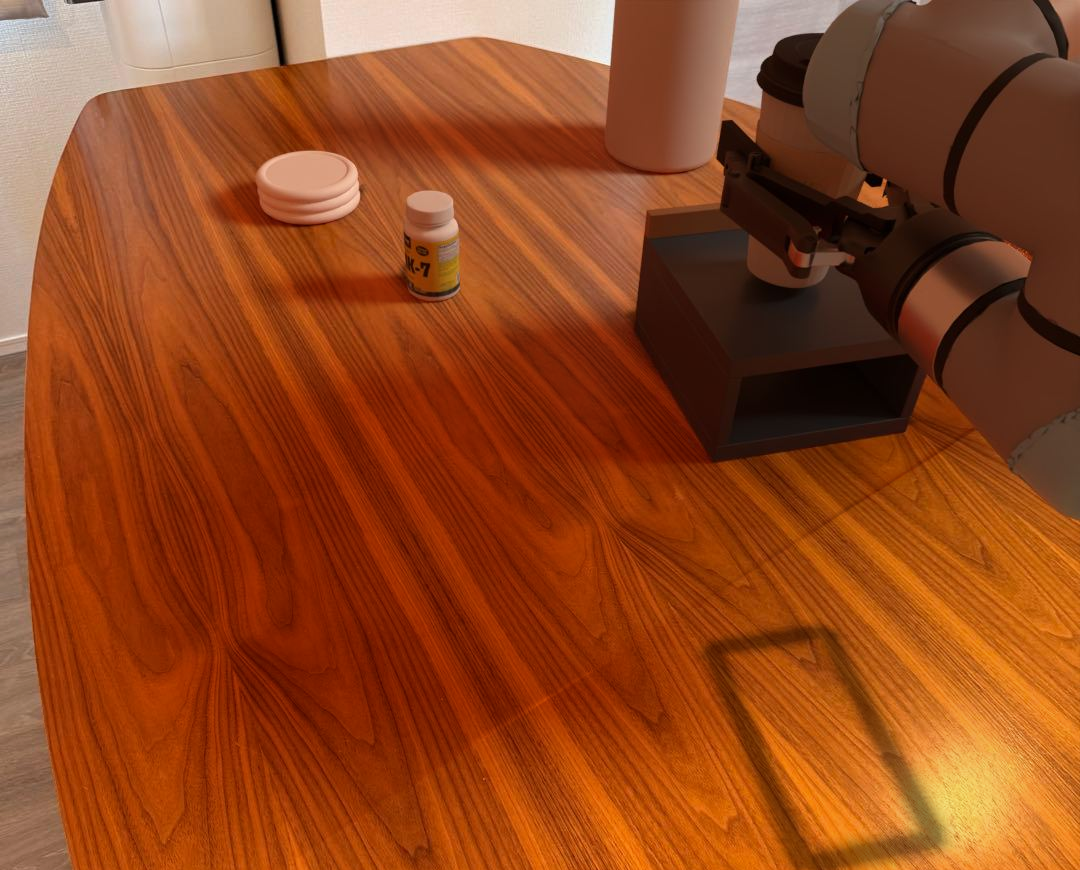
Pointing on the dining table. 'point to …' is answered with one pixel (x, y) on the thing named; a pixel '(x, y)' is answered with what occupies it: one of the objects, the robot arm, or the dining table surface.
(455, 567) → the dining table surface
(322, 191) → the coaster
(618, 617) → the dining table surface
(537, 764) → the dining table surface
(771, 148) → the coffee cup
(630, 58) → the cylinder vase
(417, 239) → the supplement bottle
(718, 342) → the dark brown hollow box
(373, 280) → the dining table surface
